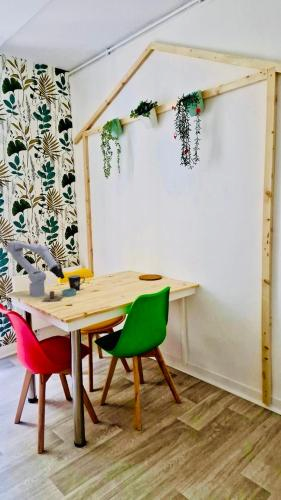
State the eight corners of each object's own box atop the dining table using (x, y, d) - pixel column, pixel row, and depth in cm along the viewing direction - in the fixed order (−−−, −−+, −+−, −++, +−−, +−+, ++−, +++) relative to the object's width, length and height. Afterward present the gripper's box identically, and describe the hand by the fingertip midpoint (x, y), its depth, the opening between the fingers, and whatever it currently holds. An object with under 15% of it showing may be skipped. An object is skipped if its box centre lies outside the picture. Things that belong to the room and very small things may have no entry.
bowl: (61, 297, 221) (60, 292, 220) (63, 294, 230) (63, 289, 229) (74, 296, 221) (74, 291, 221) (77, 293, 230) (76, 288, 230)
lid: (42, 302, 210) (42, 294, 210) (46, 297, 220) (45, 290, 219) (58, 301, 210) (58, 293, 210) (61, 297, 220) (61, 289, 220)
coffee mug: (68, 292, 235) (67, 278, 234) (69, 289, 244) (68, 275, 242) (85, 290, 237) (84, 276, 236) (85, 287, 246) (84, 274, 245)
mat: (41, 302, 210) (41, 302, 210) (45, 298, 220) (45, 297, 220) (60, 301, 211) (60, 301, 211) (63, 297, 220) (63, 297, 220)
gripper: (51, 255, 214) (63, 272, 211) (58, 259, 228) (69, 275, 225) (42, 262, 213) (54, 279, 211) (50, 265, 227) (61, 281, 225)
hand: (61, 277), depth 218 cm, fingers open, 7 cm apart
